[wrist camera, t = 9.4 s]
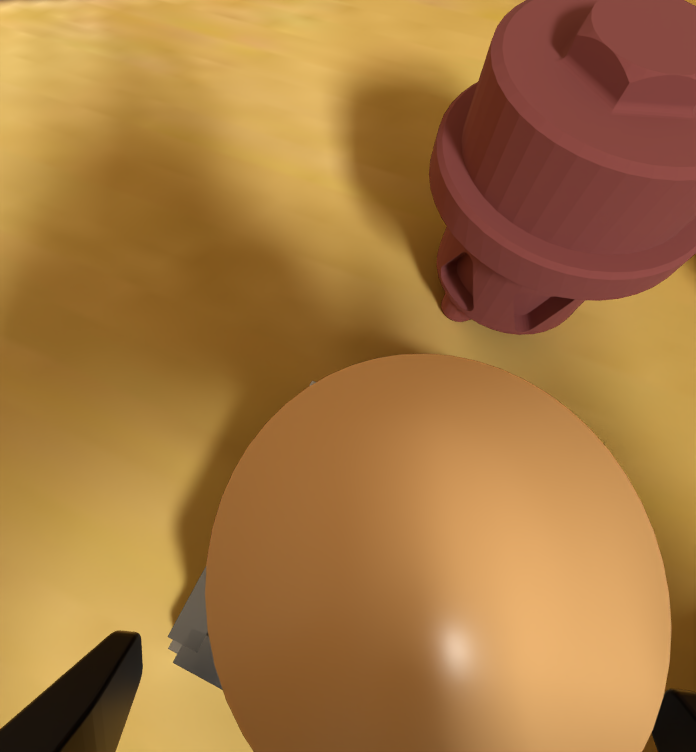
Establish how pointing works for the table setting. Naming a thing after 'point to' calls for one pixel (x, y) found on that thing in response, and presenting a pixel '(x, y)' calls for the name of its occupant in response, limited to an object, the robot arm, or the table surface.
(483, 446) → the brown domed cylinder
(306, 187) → the table surface
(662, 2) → the mechanical component
